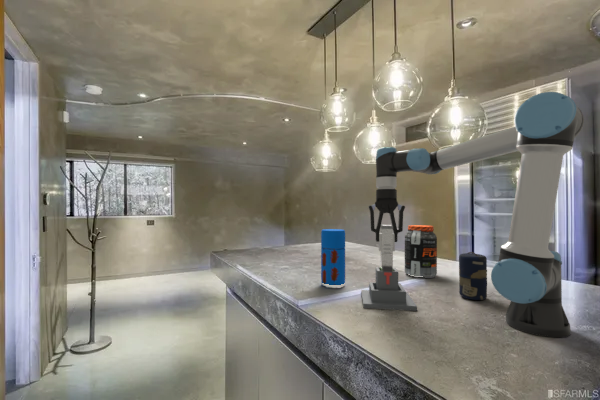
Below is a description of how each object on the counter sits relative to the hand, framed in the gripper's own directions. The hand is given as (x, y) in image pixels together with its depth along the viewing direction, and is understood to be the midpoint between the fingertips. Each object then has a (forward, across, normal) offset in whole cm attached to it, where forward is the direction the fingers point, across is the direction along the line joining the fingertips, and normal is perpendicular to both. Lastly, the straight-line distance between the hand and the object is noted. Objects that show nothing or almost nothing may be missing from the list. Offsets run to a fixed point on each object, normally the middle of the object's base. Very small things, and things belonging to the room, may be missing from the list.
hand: (386, 250), depth 115 cm
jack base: (+19, 0, 0) cm, 19 cm away
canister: (+19, -34, -10) cm, 40 cm away
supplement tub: (+19, -23, -48) cm, 57 cm away
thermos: (+19, +21, -20) cm, 35 cm away
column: (+12, 0, 0) cm, 12 cm away
